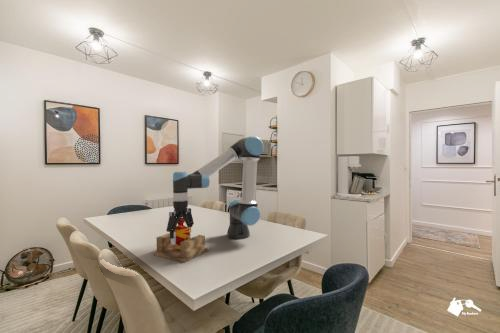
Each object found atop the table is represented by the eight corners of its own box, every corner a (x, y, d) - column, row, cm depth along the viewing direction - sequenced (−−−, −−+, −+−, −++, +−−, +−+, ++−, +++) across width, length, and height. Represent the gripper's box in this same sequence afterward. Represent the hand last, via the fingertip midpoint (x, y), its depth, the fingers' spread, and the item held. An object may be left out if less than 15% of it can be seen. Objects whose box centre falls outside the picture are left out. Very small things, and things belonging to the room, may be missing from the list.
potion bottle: (166, 248, 125) (166, 220, 125) (179, 242, 134) (179, 216, 134) (183, 250, 121) (182, 221, 121) (194, 244, 131) (194, 217, 130)
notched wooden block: (178, 244, 141) (178, 230, 141) (207, 250, 130) (207, 235, 130) (153, 254, 125) (153, 238, 125) (183, 262, 114) (183, 244, 114)
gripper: (190, 197, 139) (190, 234, 139) (158, 202, 119) (158, 246, 120) (200, 198, 136) (200, 236, 136) (168, 203, 116) (169, 249, 116)
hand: (181, 241), depth 128 cm, fingers closed on potion bottle, 10 cm apart
